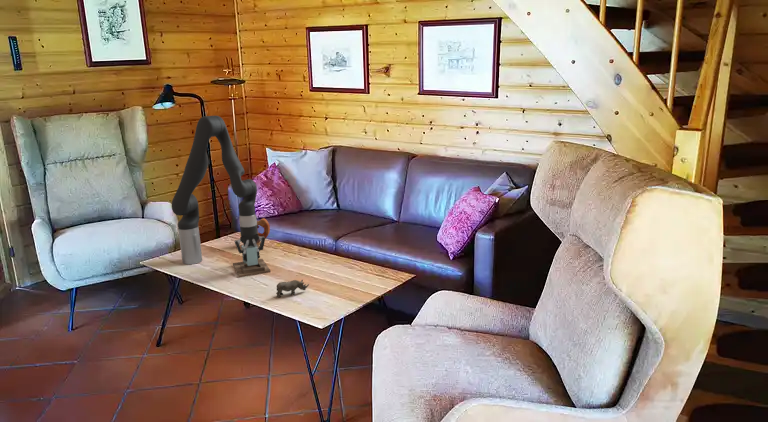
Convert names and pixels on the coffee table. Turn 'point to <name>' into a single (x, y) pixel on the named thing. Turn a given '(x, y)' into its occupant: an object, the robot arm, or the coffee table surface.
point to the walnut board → (250, 268)
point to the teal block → (251, 256)
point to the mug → (266, 227)
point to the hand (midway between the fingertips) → (251, 259)
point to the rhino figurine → (290, 287)
